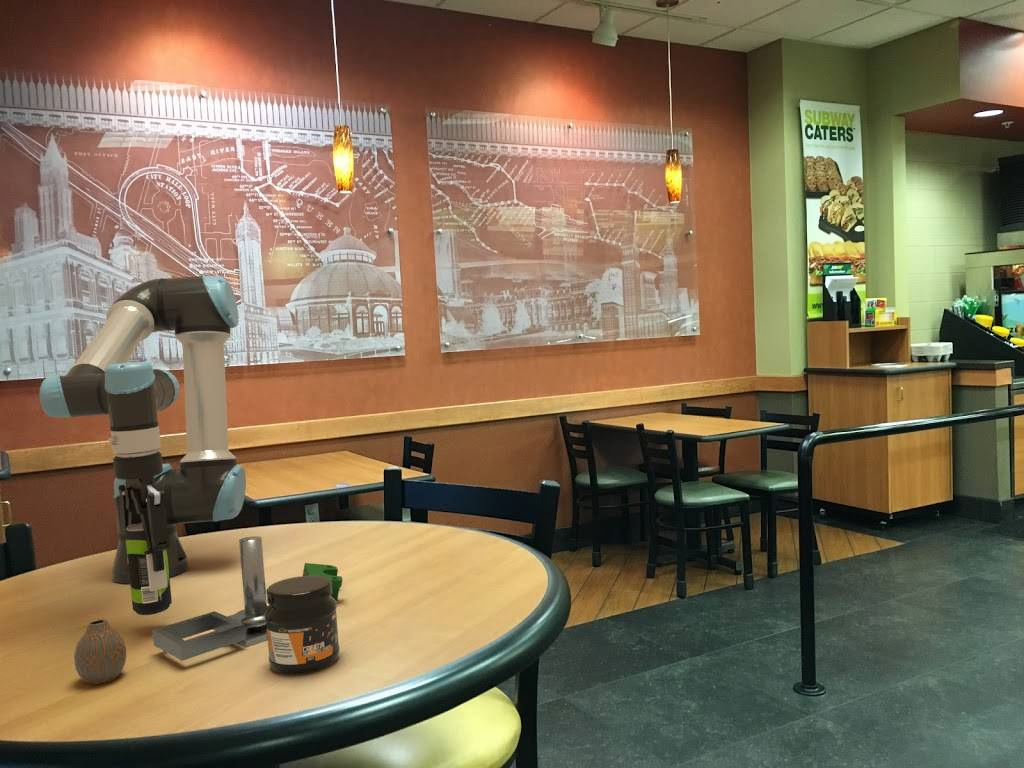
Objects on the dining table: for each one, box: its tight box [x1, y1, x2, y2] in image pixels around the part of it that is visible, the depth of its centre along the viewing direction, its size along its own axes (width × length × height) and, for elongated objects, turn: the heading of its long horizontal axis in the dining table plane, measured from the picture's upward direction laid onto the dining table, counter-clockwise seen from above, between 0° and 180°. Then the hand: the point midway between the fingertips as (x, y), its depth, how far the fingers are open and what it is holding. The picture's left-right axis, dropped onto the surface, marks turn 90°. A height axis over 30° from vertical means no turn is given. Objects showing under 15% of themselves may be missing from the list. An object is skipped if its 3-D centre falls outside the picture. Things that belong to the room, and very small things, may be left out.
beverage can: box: [125, 522, 173, 616], centre depth 140 cm, size 6×6×15 cm
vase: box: [73, 618, 127, 685], centre depth 121 cm, size 7×7×9 cm
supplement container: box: [265, 575, 340, 675], centre depth 123 cm, size 10×10×12 cm
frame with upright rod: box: [151, 535, 268, 662], centre depth 133 cm, size 10×20×16 cm, turn 136°
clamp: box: [302, 562, 343, 602], centre depth 153 cm, size 12×6×9 cm, turn 14°
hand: (150, 584), depth 141 cm, fingers closed on beverage can, 6 cm apart
